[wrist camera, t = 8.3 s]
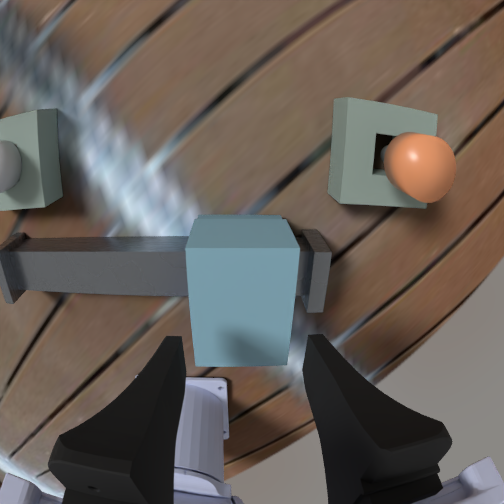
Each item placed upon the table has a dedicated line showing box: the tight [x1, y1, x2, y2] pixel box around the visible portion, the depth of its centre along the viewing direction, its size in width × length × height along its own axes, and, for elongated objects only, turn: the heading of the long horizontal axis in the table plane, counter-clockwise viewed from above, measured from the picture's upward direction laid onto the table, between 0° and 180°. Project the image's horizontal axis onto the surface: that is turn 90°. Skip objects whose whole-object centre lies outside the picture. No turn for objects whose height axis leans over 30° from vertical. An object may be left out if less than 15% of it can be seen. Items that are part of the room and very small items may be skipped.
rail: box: [0, 229, 332, 313], centre depth 19 cm, size 4×22×4 cm, turn 89°
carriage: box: [185, 215, 300, 367], centre depth 18 cm, size 7×5×6 cm
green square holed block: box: [328, 97, 438, 209], centre depth 18 cm, size 6×6×2 cm
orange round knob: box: [381, 132, 456, 203], centre depth 15 cm, size 3×3×4 cm
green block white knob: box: [0, 109, 63, 211], centre depth 15 cm, size 6×6×5 cm
